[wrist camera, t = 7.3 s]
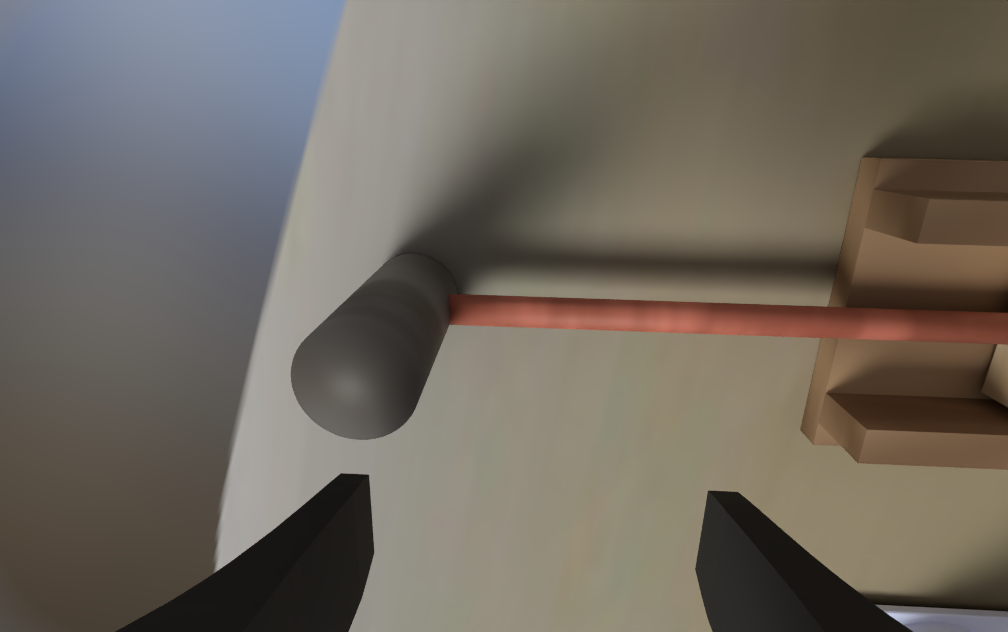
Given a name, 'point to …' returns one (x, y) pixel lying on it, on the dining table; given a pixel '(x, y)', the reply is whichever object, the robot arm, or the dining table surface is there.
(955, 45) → the dining table surface
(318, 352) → the grey and red rod
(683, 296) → the dining table surface
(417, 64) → the dining table surface
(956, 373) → the lane tray
